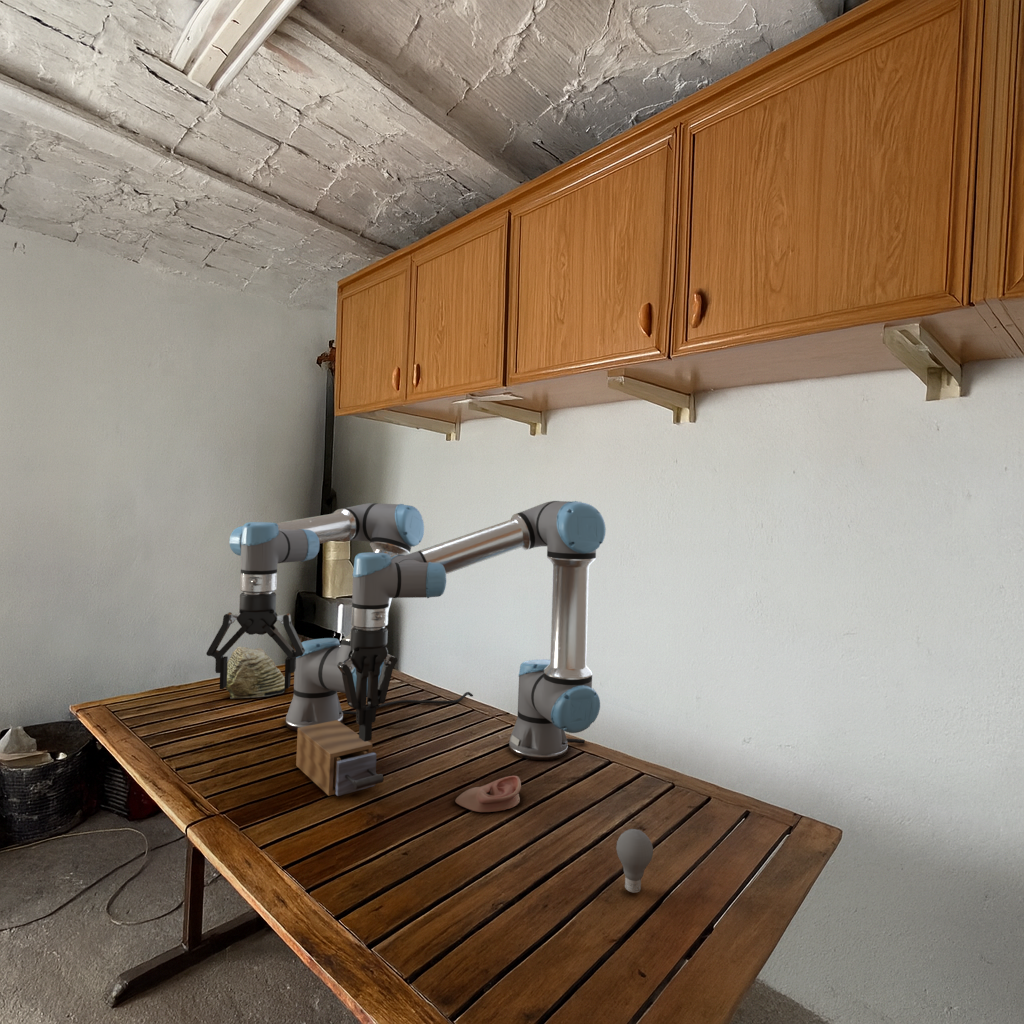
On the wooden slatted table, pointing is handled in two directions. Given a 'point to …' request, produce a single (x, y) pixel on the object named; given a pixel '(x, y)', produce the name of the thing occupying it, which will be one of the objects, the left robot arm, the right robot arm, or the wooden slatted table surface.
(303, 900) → the wooden slatted table surface
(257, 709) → the wooden slatted table surface
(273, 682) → the fossil
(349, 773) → the drawer
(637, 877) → the light bulb
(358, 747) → the cabinet
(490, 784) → the anatomical model
